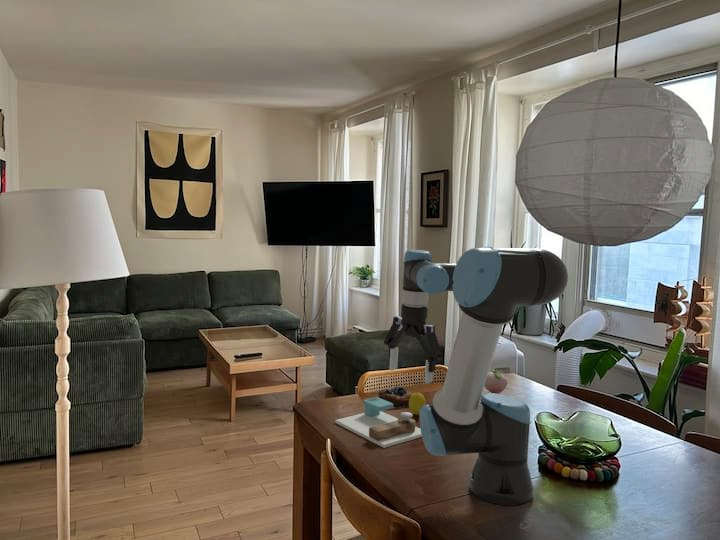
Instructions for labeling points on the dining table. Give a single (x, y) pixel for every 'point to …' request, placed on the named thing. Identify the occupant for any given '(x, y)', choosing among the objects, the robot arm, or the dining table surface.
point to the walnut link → (392, 429)
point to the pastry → (396, 396)
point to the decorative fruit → (495, 382)
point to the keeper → (376, 406)
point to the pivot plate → (364, 422)
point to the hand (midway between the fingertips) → (410, 375)
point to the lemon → (416, 402)
